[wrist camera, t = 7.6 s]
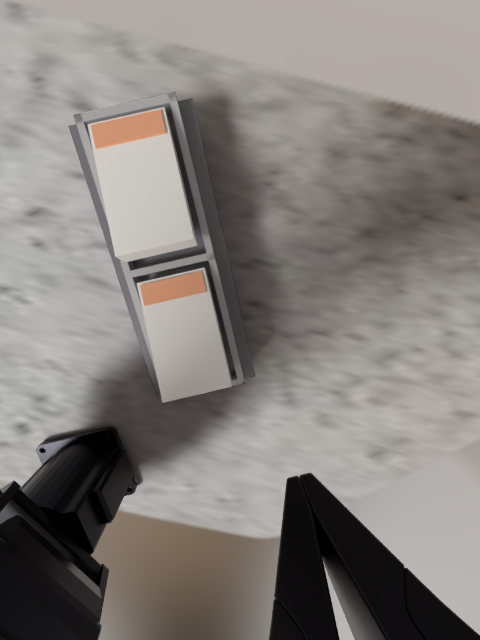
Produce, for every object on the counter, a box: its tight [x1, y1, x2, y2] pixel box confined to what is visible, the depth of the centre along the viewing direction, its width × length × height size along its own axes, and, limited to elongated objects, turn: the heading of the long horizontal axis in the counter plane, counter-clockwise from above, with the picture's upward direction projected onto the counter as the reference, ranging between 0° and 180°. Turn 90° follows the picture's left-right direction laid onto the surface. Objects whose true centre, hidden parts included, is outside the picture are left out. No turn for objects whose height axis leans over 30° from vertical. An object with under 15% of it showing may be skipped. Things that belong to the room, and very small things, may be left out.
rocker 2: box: [137, 268, 232, 403], centre depth 14 cm, size 4×7×1 cm, turn 13°
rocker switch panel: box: [69, 92, 255, 399], centre depth 16 cm, size 7×17×4 cm, turn 13°
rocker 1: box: [87, 107, 198, 262], centre depth 13 cm, size 4×7×1 cm, turn 13°
